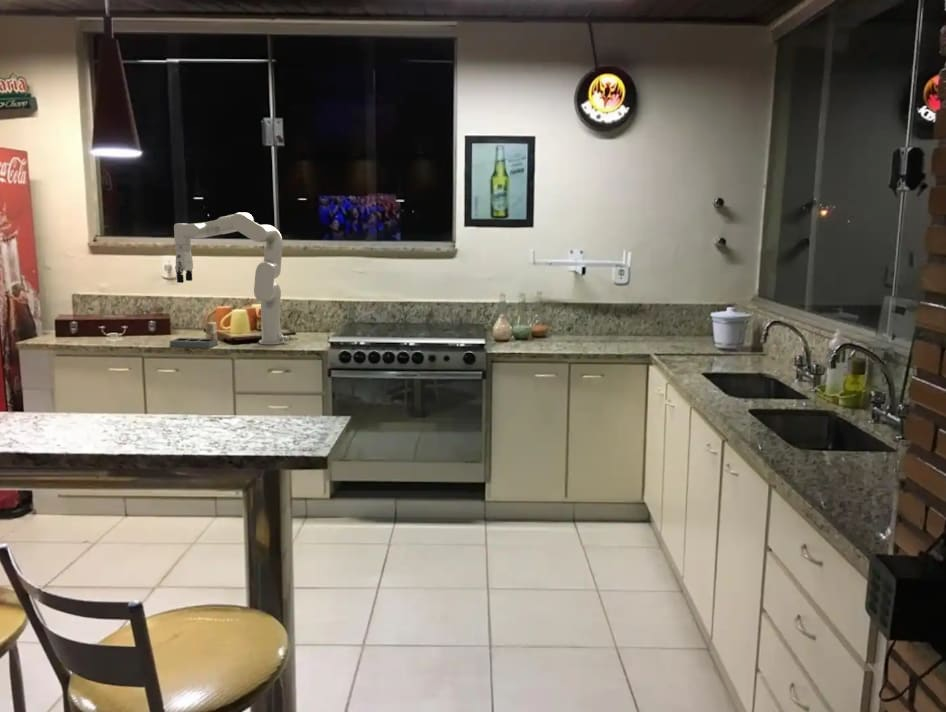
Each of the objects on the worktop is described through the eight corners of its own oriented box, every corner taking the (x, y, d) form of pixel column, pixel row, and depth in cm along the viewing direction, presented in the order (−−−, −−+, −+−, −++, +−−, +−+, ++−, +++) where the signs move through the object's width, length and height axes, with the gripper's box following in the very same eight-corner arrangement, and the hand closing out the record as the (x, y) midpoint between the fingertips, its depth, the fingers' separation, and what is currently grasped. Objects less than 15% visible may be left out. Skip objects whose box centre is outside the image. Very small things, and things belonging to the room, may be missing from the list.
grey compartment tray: (217, 344, 388) (217, 338, 387) (209, 348, 378) (209, 342, 377) (179, 343, 389) (179, 337, 389) (170, 347, 379) (169, 341, 379)
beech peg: (217, 341, 397) (216, 322, 395) (214, 342, 393) (213, 323, 391) (209, 341, 397) (208, 322, 395) (206, 342, 393) (205, 323, 391)
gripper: (182, 249, 382) (184, 283, 385) (197, 247, 398) (199, 280, 402) (167, 248, 382) (169, 283, 386) (183, 246, 399) (185, 279, 402)
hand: (184, 281), depth 394 cm, fingers open, 9 cm apart
